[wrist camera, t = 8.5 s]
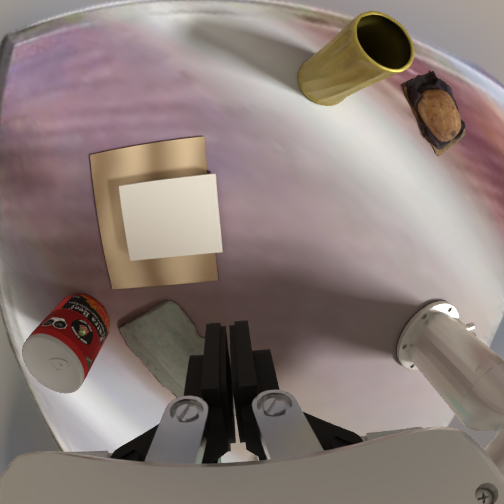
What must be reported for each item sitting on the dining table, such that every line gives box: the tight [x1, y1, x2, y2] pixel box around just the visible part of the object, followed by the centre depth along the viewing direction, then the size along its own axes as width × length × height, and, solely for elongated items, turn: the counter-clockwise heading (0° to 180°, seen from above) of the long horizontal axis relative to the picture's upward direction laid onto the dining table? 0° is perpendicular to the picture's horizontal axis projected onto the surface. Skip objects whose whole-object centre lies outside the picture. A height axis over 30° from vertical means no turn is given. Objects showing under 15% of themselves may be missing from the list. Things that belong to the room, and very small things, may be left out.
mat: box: [90, 137, 218, 289], centre depth 32 cm, size 13×16×1 cm
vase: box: [298, 11, 414, 106], centre depth 22 cm, size 6×6×14 cm
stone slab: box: [119, 301, 236, 416], centre depth 38 cm, size 22×3×10 cm
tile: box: [119, 173, 223, 261], centre depth 31 cm, size 2×8×10 cm
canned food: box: [22, 294, 110, 393], centre depth 29 cm, size 8×8×11 cm
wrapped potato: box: [403, 71, 465, 156], centre depth 30 cm, size 11×8×4 cm
